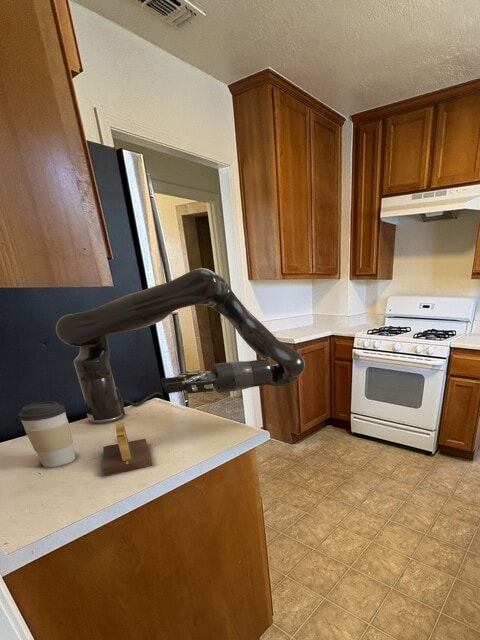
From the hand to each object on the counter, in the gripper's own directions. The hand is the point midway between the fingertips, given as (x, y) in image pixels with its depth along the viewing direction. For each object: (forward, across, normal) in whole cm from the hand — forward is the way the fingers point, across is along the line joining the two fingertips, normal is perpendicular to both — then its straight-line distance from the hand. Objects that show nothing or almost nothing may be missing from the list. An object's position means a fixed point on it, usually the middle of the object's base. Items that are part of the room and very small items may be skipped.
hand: (163, 386), depth 85 cm
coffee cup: (+26, -11, +18) cm, 34 cm away
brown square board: (+11, -3, +18) cm, 21 cm away
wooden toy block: (+11, -3, +16) cm, 20 cm away
